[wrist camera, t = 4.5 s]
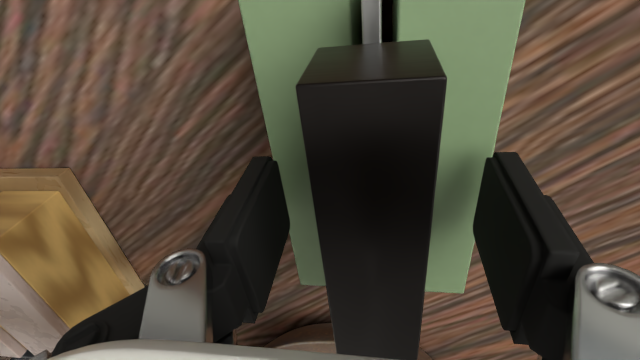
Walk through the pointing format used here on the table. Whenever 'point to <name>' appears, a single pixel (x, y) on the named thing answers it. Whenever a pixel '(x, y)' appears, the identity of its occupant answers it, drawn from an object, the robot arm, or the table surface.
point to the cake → (53, 260)
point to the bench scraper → (374, 182)
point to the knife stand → (458, 120)
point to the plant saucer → (315, 340)
